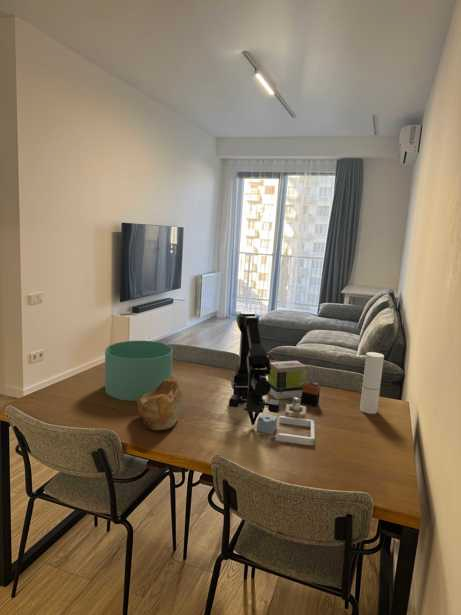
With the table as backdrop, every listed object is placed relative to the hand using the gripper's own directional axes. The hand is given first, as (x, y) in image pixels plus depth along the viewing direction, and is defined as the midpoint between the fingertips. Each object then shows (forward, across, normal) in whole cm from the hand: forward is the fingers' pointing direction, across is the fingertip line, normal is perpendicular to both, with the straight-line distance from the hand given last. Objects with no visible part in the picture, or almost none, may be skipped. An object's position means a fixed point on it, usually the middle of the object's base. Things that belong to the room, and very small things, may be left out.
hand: (252, 424), depth 160 cm
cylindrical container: (+1, +46, +31) cm, 56 cm away
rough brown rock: (+2, -36, -4) cm, 37 cm away
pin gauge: (0, +15, +13) cm, 20 cm away
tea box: (+1, +10, +38) cm, 39 cm away
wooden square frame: (+1, +16, +13) cm, 20 cm away
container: (+2, -56, +24) cm, 60 cm away
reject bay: (+1, +16, 0) cm, 16 cm away
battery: (+1, +21, +30) cm, 37 cm away
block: (+1, +5, 0) cm, 5 cm away
